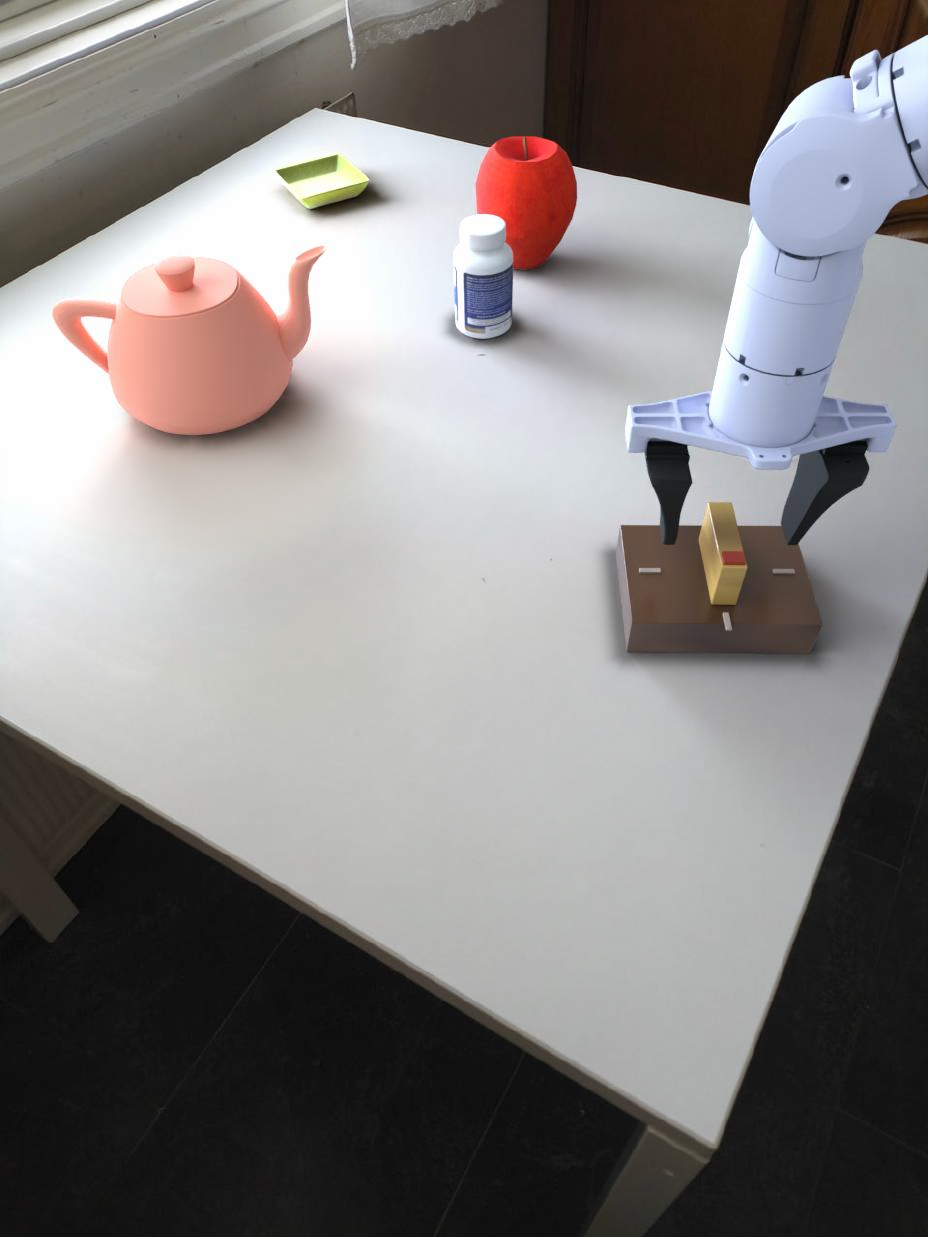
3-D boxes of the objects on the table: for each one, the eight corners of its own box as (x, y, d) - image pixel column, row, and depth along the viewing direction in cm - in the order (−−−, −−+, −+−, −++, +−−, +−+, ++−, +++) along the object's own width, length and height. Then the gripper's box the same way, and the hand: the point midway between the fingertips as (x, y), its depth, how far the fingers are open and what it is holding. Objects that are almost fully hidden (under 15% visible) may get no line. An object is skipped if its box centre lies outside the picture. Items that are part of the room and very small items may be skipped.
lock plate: (781, 550, 65) (792, 517, 63) (812, 661, 59) (826, 630, 56) (614, 548, 66) (619, 517, 63) (627, 659, 59) (633, 628, 57)
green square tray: (302, 217, 100) (299, 198, 99) (274, 187, 106) (271, 168, 104) (373, 198, 103) (371, 179, 102) (342, 170, 108) (340, 152, 107)
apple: (573, 239, 96) (582, 116, 87) (571, 287, 90) (580, 160, 80) (480, 236, 97) (479, 114, 87) (471, 283, 90) (469, 157, 81)
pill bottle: (523, 325, 85) (527, 224, 78) (481, 347, 83) (480, 245, 76) (485, 303, 88) (485, 203, 81) (443, 323, 86) (439, 223, 78)
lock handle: (698, 539, 62) (708, 498, 59) (721, 539, 62) (732, 498, 59) (711, 605, 58) (722, 564, 55) (736, 605, 58) (749, 564, 55)
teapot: (335, 331, 85) (316, 201, 76) (355, 428, 76) (336, 292, 66) (96, 362, 83) (46, 231, 73) (85, 466, 73) (26, 331, 64)
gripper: (647, 391, 45) (618, 579, 55) (946, 390, 44) (860, 580, 54) (633, 314, 49) (609, 501, 59) (904, 312, 49) (832, 501, 59)
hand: (728, 534), depth 57 cm, fingers open, 7 cm apart
